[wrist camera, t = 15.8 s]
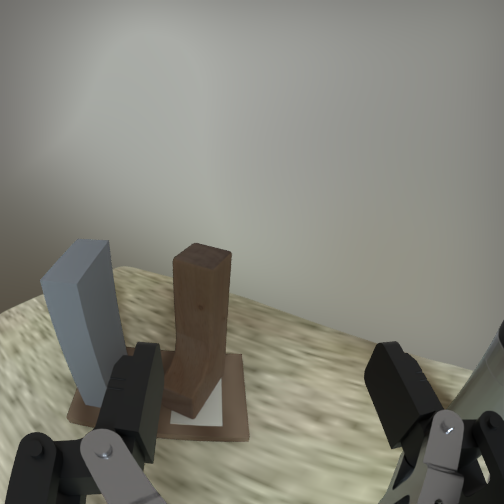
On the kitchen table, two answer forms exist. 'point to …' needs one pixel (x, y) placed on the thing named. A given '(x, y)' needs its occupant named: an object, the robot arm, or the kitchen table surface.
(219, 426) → the base board
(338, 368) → the kitchen table surface
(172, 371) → the wooden block
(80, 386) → the slate post
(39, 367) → the kitchen table surface
